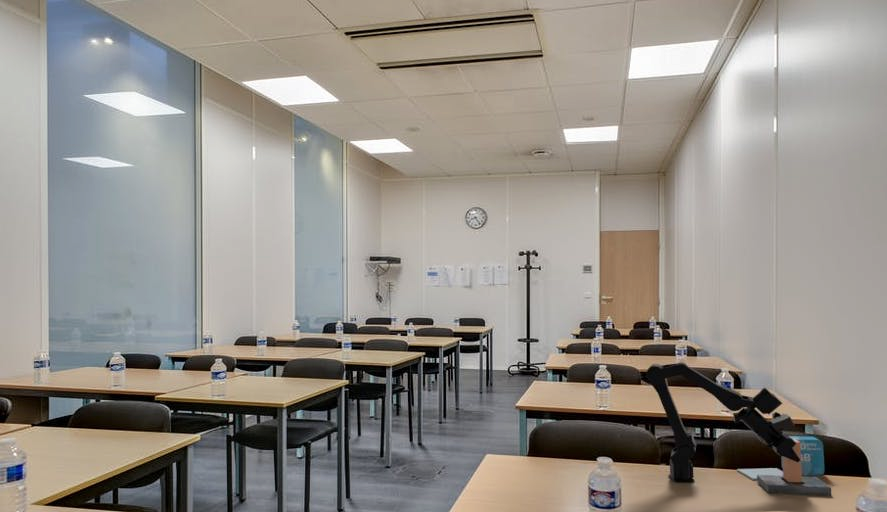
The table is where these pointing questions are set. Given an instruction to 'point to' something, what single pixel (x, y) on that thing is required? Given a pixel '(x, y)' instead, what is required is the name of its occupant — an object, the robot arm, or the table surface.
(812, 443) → the data package
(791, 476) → the peg
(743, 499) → the table surface
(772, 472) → the pad
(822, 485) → the grey base plate
